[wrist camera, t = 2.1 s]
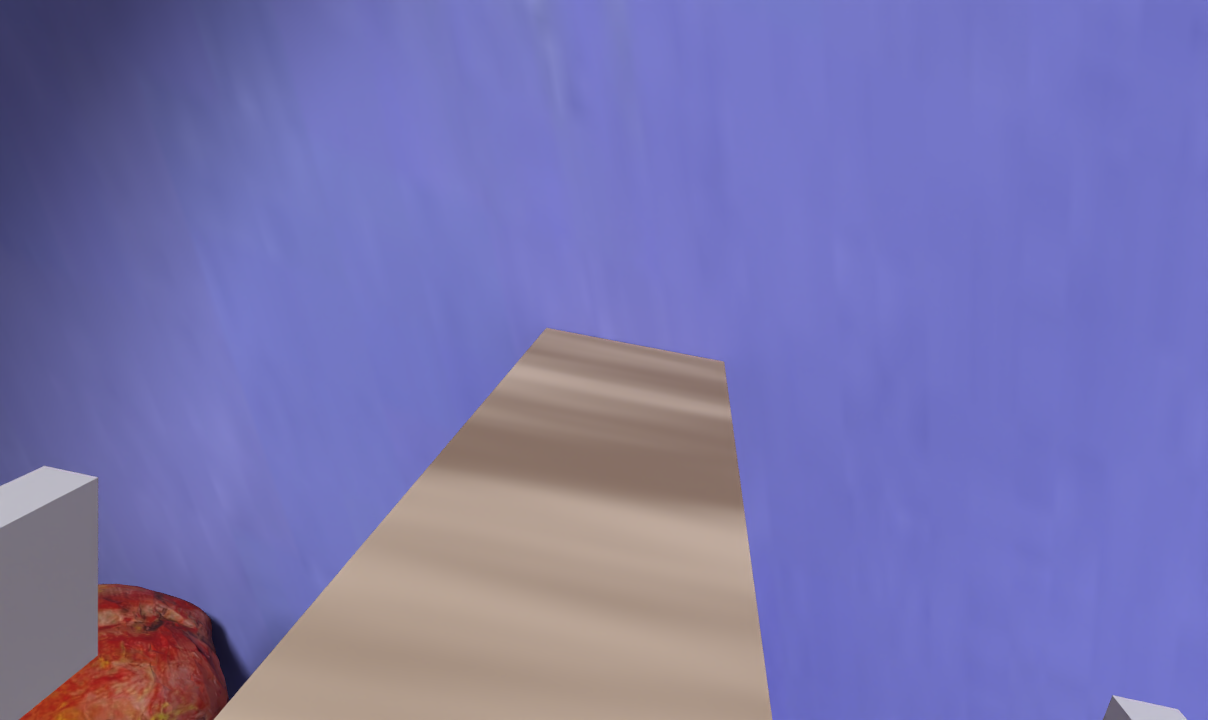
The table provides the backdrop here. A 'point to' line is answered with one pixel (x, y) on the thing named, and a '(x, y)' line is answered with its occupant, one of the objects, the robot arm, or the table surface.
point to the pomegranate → (143, 663)
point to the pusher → (548, 562)
